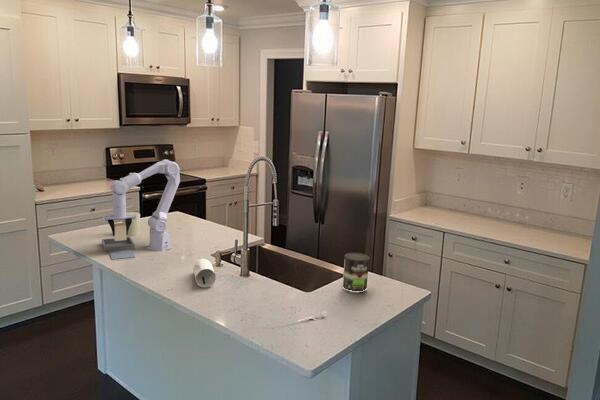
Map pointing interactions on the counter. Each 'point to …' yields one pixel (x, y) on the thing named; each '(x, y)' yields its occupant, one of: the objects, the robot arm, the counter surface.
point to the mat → (121, 255)
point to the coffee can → (355, 271)
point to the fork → (311, 317)
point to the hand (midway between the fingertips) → (120, 234)
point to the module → (120, 231)
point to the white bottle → (204, 273)
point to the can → (134, 225)
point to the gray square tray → (117, 244)
